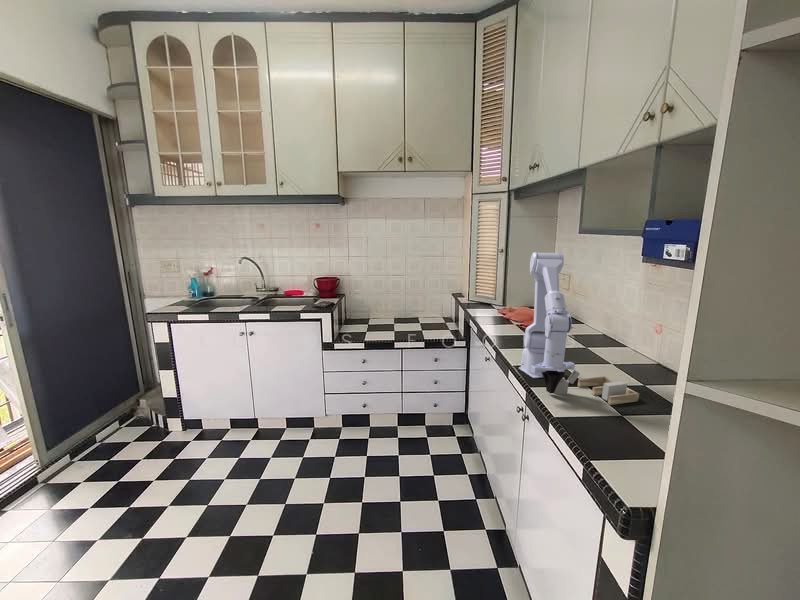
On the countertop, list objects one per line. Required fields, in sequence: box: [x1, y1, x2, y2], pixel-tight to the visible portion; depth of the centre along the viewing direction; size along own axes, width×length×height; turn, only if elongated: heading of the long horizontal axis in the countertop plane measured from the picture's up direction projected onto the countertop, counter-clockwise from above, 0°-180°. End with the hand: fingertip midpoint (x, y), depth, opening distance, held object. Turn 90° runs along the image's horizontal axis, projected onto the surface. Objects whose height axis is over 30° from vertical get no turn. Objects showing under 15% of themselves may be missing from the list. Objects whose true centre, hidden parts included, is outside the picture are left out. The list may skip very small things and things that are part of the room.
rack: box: [577, 375, 640, 406], centre depth 112 cm, size 13×11×2 cm
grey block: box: [601, 380, 628, 402], centre depth 109 cm, size 2×7×5 cm, turn 105°
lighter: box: [553, 369, 581, 396], centre depth 111 cm, size 7×2×8 cm, turn 80°
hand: (550, 391), depth 110 cm, fingers closed
